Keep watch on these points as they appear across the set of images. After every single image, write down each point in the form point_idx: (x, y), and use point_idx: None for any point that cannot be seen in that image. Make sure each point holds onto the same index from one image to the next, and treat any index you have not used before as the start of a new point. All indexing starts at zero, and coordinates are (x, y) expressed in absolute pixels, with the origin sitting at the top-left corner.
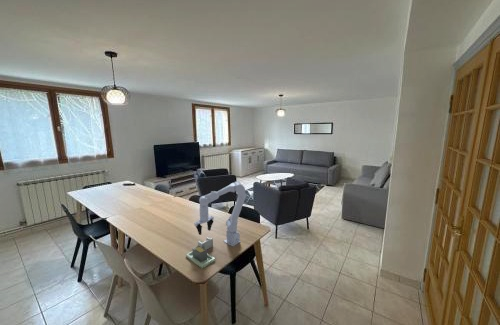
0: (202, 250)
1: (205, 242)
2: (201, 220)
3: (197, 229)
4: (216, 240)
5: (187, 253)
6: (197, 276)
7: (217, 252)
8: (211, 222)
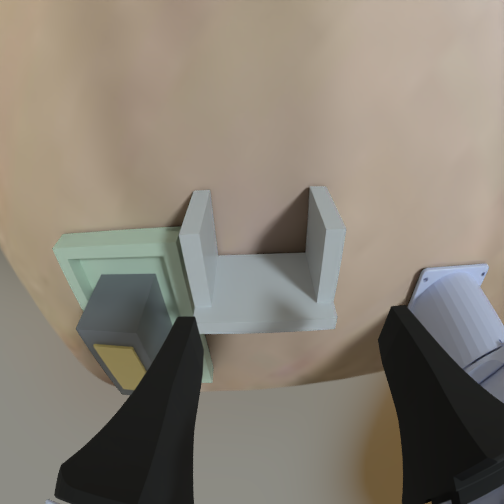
0: None
1: (227, 328)
2: None
3: (135, 398)
4: (413, 208)
5: (63, 249)
6: (99, 372)
7: None
8: (407, 498)
